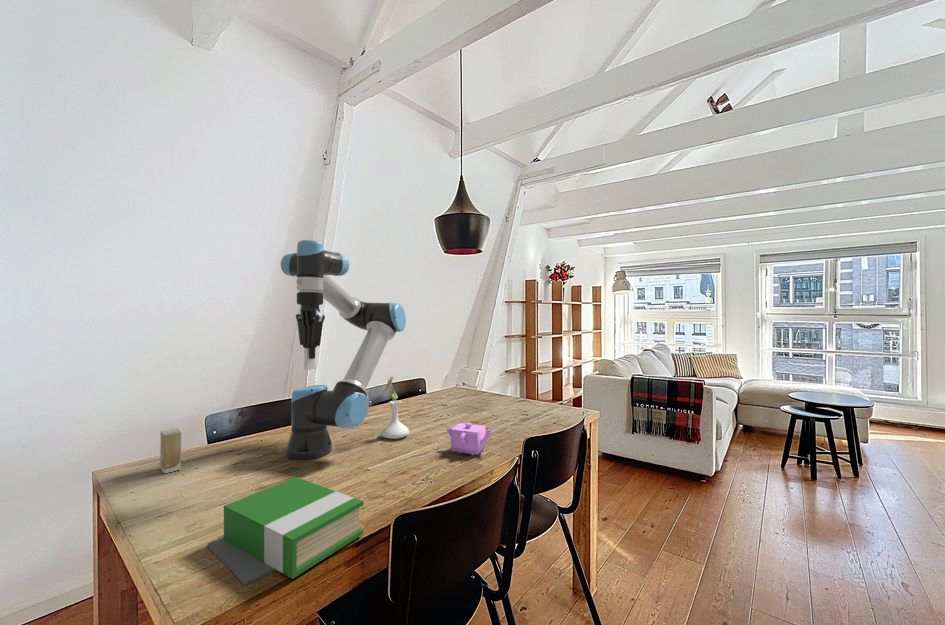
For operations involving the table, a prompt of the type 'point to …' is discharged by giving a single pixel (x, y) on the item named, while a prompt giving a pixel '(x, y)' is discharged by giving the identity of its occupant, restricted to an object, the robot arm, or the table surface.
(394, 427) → the flower in vase
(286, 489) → the hardback book
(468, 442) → the teapot
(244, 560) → the felt mat
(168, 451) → the skincare box
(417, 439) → the table surface
